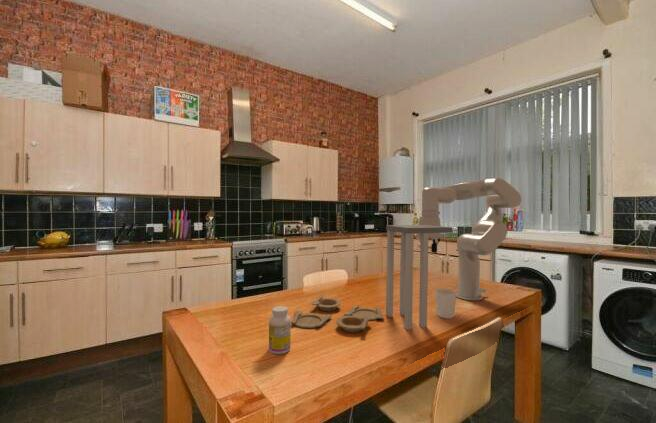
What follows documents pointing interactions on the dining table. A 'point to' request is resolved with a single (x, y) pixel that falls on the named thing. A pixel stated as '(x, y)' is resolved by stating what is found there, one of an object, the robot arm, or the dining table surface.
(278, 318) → the supplement bottle
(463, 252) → the robot arm
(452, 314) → the white cup
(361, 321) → the tableware set
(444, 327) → the dining table surface
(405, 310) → the grey tall stool
